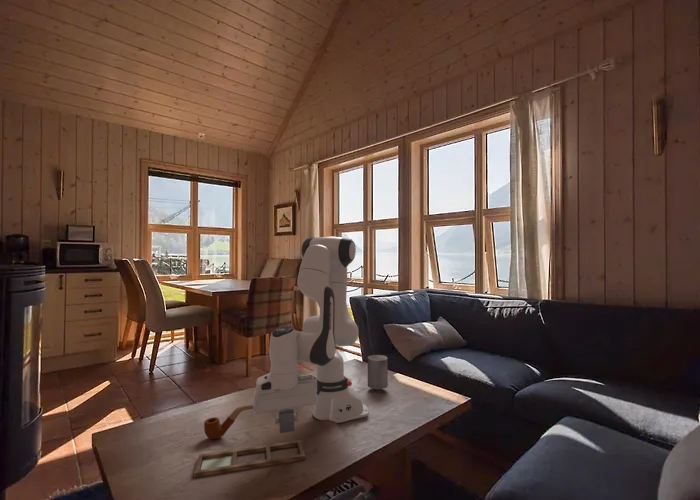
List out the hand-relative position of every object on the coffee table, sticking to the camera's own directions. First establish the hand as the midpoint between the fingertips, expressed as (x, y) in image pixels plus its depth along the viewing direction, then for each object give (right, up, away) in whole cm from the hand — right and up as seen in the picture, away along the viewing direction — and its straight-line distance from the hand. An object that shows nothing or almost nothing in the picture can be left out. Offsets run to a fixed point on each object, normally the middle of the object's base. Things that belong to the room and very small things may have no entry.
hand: (286, 421), depth 116 cm
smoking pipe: (-22, -11, +12) cm, 27 cm away
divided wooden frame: (-10, -10, -4) cm, 15 cm away
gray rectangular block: (0, -2, 0) cm, 2 cm away
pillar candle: (+34, -11, +58) cm, 68 cm away
